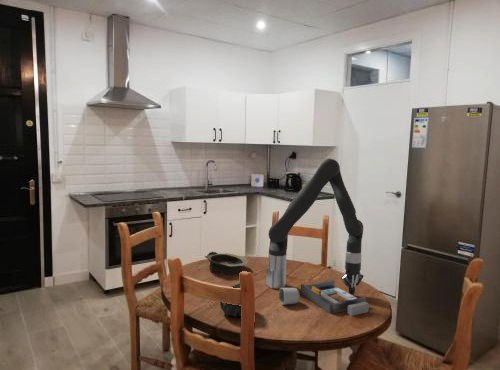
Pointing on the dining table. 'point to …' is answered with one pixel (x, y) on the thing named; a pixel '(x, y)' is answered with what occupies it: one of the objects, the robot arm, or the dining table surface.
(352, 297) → the grey flat arch
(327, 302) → the rack bay
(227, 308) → the squash
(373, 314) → the dining table surface
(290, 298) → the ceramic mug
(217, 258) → the stone bowl
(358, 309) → the panel
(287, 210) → the robot arm
